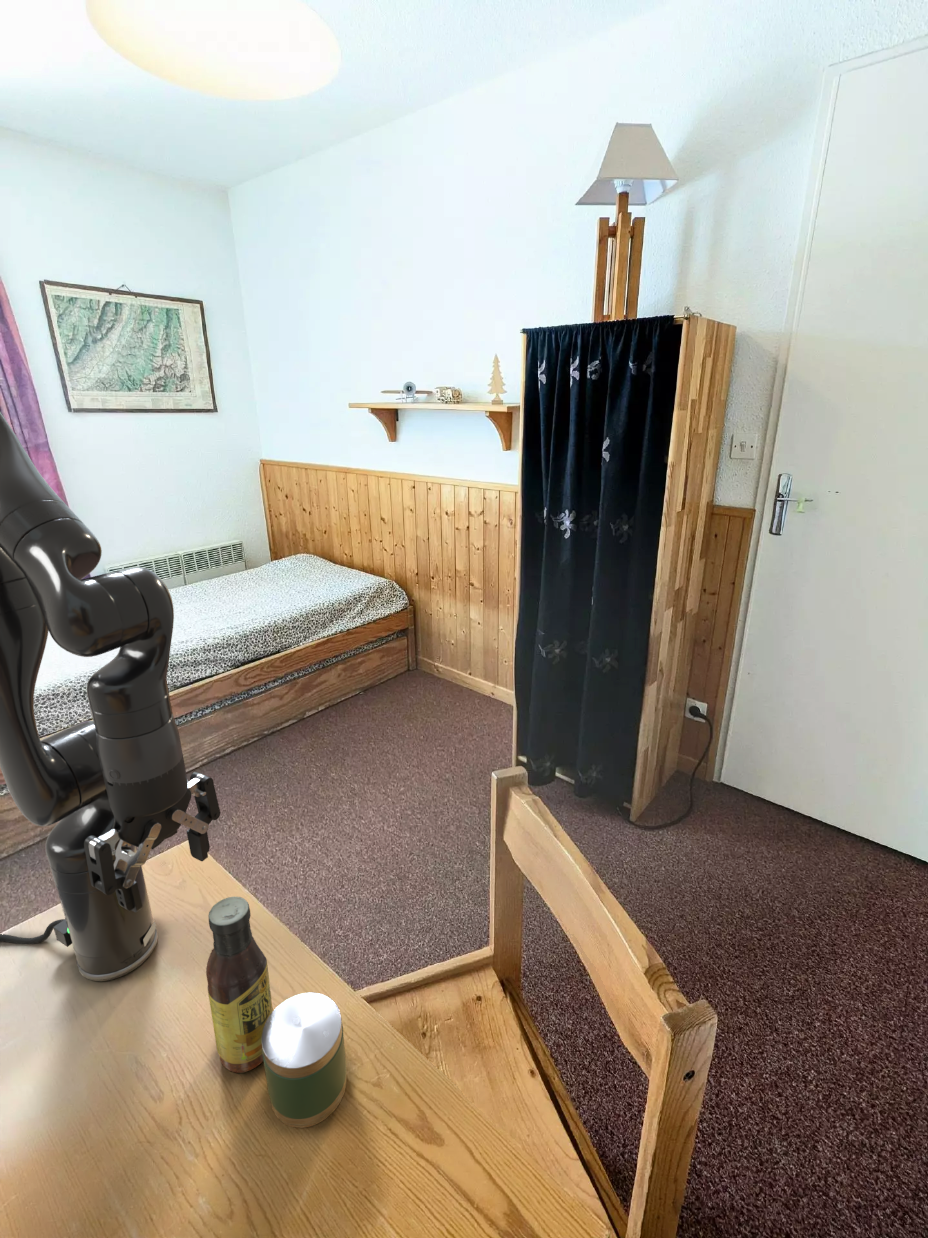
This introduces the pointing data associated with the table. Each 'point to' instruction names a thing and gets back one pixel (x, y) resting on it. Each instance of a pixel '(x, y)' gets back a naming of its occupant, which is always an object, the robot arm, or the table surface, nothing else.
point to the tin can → (304, 1059)
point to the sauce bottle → (237, 986)
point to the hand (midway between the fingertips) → (168, 881)
